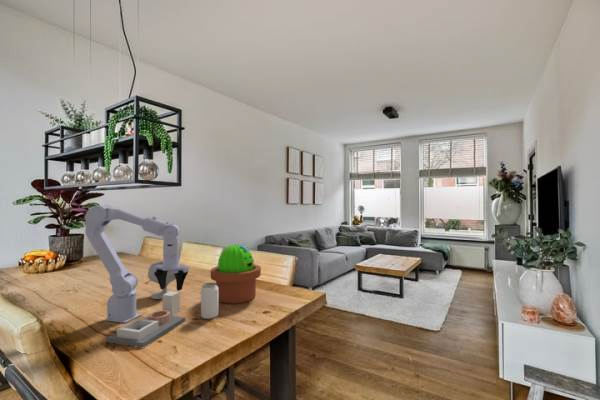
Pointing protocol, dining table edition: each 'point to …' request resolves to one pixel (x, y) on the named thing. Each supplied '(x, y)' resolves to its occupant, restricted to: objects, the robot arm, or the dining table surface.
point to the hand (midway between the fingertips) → (171, 289)
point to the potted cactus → (236, 275)
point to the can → (209, 301)
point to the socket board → (146, 329)
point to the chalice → (153, 278)
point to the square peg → (171, 302)
